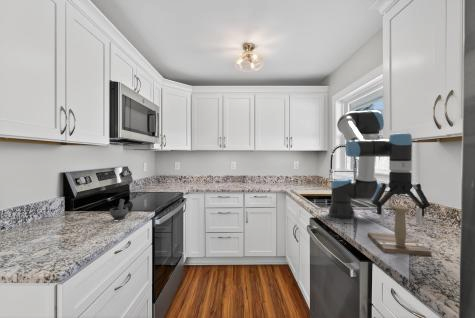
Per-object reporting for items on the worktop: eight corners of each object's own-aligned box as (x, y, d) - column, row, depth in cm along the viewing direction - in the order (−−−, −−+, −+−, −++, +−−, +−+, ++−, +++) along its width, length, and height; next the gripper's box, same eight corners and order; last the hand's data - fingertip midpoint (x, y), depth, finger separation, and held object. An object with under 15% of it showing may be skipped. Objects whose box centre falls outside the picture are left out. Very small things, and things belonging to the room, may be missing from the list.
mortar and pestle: (124, 222, 139) (124, 201, 139) (107, 222, 138) (107, 202, 138) (130, 217, 151) (130, 198, 150) (115, 217, 150) (115, 198, 149)
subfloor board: (367, 235, 113) (367, 231, 112) (405, 237, 109) (405, 233, 109) (384, 252, 93) (384, 247, 93) (431, 255, 90) (431, 250, 90)
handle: (398, 240, 101) (398, 205, 100) (412, 246, 94) (412, 208, 94) (388, 241, 100) (388, 205, 99) (401, 247, 93) (401, 209, 93)
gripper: (369, 171, 96) (369, 224, 96) (441, 172, 91) (441, 227, 91) (364, 170, 103) (363, 219, 104) (430, 170, 98) (429, 222, 98)
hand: (399, 223), depth 97 cm, fingers open, 13 cm apart
